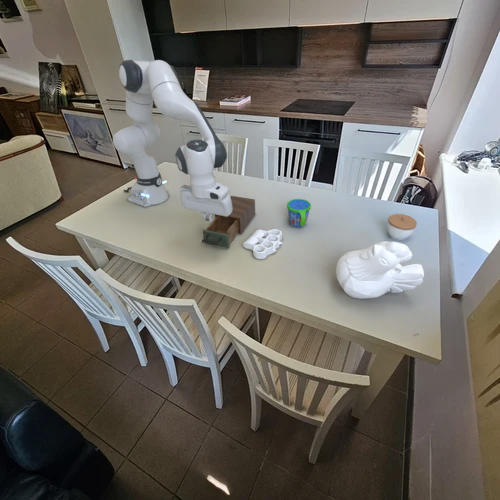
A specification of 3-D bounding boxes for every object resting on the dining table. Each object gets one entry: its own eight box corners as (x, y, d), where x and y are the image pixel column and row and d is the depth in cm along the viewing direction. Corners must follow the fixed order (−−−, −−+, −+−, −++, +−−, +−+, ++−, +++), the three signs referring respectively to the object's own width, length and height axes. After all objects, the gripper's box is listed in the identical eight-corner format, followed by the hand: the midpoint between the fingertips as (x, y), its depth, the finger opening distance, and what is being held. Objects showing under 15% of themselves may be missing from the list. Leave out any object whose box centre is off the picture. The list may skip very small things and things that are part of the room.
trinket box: (409, 230, 123) (417, 212, 117) (412, 245, 115) (419, 226, 109) (383, 227, 126) (389, 209, 120) (384, 240, 118) (390, 222, 112)
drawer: (223, 256, 113) (221, 242, 109) (198, 250, 117) (196, 237, 113) (243, 227, 129) (242, 215, 124) (221, 223, 132) (219, 211, 128)
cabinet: (241, 234, 126) (240, 218, 121) (216, 229, 130) (214, 213, 125) (255, 214, 138) (254, 199, 133) (232, 210, 142) (231, 195, 137)
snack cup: (284, 214, 137) (285, 196, 131) (305, 213, 137) (307, 195, 131) (288, 233, 125) (289, 214, 119) (312, 232, 125) (314, 212, 119)
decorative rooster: (322, 282, 92) (386, 255, 72) (334, 248, 101) (394, 216, 80) (376, 323, 96) (450, 309, 76) (382, 287, 105) (451, 265, 85)
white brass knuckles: (260, 230, 128) (289, 239, 122) (238, 251, 116) (269, 263, 110) (260, 223, 126) (289, 233, 119) (238, 245, 114) (269, 256, 108)
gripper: (174, 187, 101) (181, 219, 110) (225, 196, 95) (228, 230, 103) (184, 180, 105) (190, 211, 114) (232, 188, 99) (235, 221, 108)
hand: (208, 220), depth 109 cm, fingers closed
